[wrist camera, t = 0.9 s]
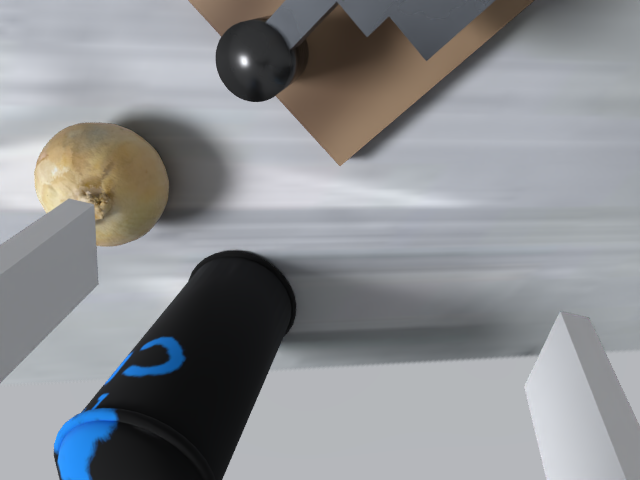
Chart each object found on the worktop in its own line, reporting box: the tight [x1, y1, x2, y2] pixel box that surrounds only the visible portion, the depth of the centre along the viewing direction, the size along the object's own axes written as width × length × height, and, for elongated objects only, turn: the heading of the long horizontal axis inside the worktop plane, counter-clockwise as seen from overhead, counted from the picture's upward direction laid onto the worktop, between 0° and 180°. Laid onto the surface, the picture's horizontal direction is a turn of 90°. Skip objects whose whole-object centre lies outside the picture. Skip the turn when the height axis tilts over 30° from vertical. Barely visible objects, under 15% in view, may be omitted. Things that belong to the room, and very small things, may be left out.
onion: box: [34, 123, 169, 246], centre depth 33 cm, size 8×8×7 cm
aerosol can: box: [54, 251, 296, 480], centre depth 30 cm, size 8×8×20 cm
